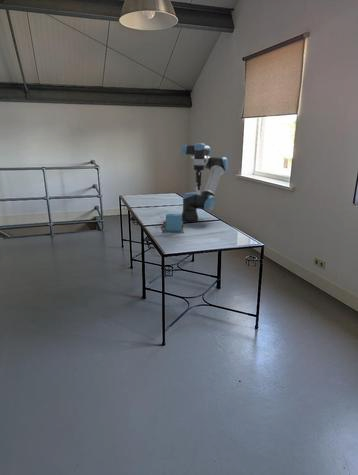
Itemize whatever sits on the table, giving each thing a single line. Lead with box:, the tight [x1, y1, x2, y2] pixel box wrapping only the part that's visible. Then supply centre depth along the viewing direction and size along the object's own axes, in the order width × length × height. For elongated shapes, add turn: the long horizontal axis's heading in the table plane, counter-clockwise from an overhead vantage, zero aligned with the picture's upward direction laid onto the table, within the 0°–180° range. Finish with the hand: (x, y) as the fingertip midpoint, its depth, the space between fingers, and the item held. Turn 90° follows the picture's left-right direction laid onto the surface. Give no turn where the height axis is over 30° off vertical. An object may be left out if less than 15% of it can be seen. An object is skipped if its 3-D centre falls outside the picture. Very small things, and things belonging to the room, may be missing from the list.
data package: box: [165, 213, 183, 231], centre depth 247 cm, size 12×4×12 cm, turn 90°
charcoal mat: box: [161, 227, 184, 234], centre depth 249 cm, size 11×16×1 cm
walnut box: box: [161, 220, 184, 229], centre depth 260 cm, size 9×16×3 cm, turn 91°
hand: (197, 192), depth 254 cm, fingers open, 13 cm apart
